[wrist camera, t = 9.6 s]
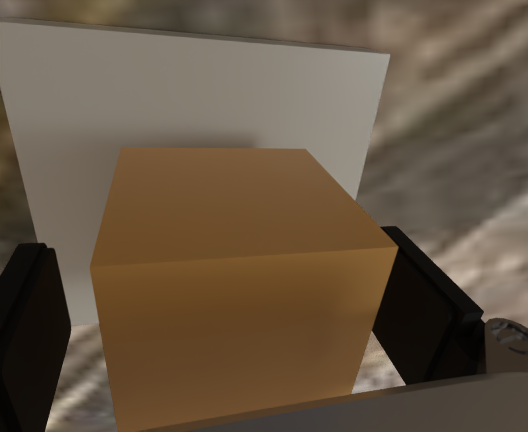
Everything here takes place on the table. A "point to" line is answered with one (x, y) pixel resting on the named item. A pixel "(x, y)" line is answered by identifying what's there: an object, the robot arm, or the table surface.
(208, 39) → the board
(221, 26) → the table surface
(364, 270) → the tan wooden cube
